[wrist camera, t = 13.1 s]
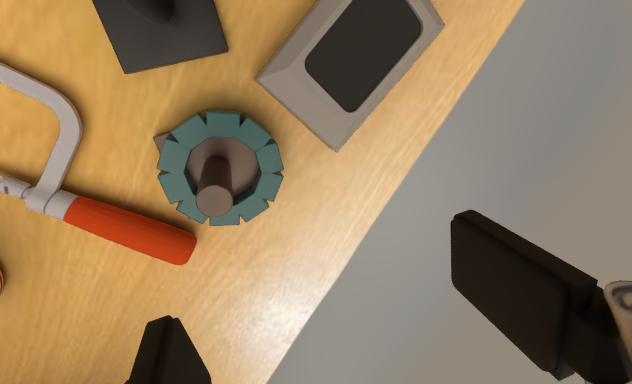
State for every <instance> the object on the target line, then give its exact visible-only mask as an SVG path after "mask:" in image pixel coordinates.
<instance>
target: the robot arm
mask: <svg viewBox="0 0 632 384" xmlns="http://www.w3.org/2000/svg"><path fill="white" fill-rule="evenodd" d="M451 274H452V275H451V278H452V283H453V285H454V287H455V288H456V289H457V290H458V291H459V292H460V293H461V294H462V295H463V296H464V297H465V298H466V299H467V300H468V301H469V302H471V303H472V304H473V305H474V306H475V307H476V308H477V309H478V310H479V311H480V312H481V313H482V314H483V315H484V316H485V317H486V318H487V319H488V320H489V321H490V322H491V323H492V324H494V325H495V326H496V327H497V328H498V329H499V330H500V331H501V332H502V333H503V334H504V335H505V336H506V337H507V338H508V339H509V340H510V341H511V342H513V344H515V345H516V346H517V347H518V348H519V349H520V350H521V351H522V352H523V353H524V354H525V355H526V356H527V357H528V358H529V359H530V360H531V361H532V362H534V363H535V364H536V365H537V366H538V367H539V368H540V369H541V370H543V371H546V372H550V373H551V374H552V375H553V376H554V377H555V378H556V379H557V380H558V381H560V380H562V379H565V378H567V377H569V376H571V375H573V374H574V373H575V372H576V373H578V374H579V375H580V376H581V377H582V378H583V379H584V381H585V384H632V281H621V280H620V281H615V282H611V283H609V284H607V285H606V286H605V288H604V290H603V289H602V288H600V287H598V286H597V281H598V280H596V279H595V278H593V277H591V276H590V275H588V274H586V273H584V272H582V271H581V270H579V269H577V268H575V267H574V266H572V265H570V264H568V263H566V262H565V261H563V260H561V259H559V258H558V257H556V256H554V255H552V254H551V253H549V252H547V251H545V250H544V249H542V248H540V247H538V246H536V245H535V244H533V243H531V242H529V241H528V240H526V239H524V238H522V237H520V236H519V235H517V234H515V233H513V232H511V231H510V230H508V229H506V228H505V227H503V226H501V225H499V224H498V223H496V222H494V221H492V220H490V219H489V218H487V217H485V216H483V215H482V214H480V213H478V212H476V211H474V210H467V211H464V212H462V213H459V214H456V215H455V216H454V218H453V220H452V221H451ZM124 384H212V382H211V377H210V374H209V372H208V370H207V368H206V366H205V365H204V363H203V361H202V359H201V357H200V356H199V354H198V352H197V350H196V348H195V347H194V345H193V343H192V341H191V339H190V338H189V336H188V334H187V332H186V330H185V329H184V327H183V325H182V323H181V321H180V320H179V318H174V319H173V318H172V317H171V316H170V315H167V316H164V317H162V318H159V319H156V320H153V321H150V322H148V323H147V325H146V328H145V331H144V334H143V337H142V340H141V343H140V346H139V350H138V353H137V356H136V359H135V362H134V365H133V368H132V372H131V375H130V378H129V380H127V381H126V382H125V383H124Z"/></svg>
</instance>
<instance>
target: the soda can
mask: <svg viewBox="0 0 632 384" xmlns="http://www.w3.org/2000/svg"><path fill="white" fill-rule="evenodd" d="M3 286H4V280H3V276H2V273H1V271H0V294H1V292H2V290H3Z"/></svg>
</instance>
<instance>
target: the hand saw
mask: <svg viewBox="0 0 632 384" xmlns="http://www.w3.org/2000/svg"><path fill="white" fill-rule="evenodd" d="M0 83H2V84H4V85H6V86H8V87H10V88H12V89H15V90H17V91H19V92H21V93H23V94H25V95H28V96H30V97H32V98H34V99H36V100H38V101H40V102H42V103H44V104H45V105H47V106H48V107H50V108H51V109H52V110H53V111H54V113H55V114H56V115H57V117H58V119H59V122H60V127H61V129H60V134H59V137H58V139H57V142H56V144H55V146H54V149H53V151H52V153H51V156H50V158H49V160H48V163H47V165H46V167H45V170H44V172H43V174H42V177H41V179H40V181H39V182H38V184H37V185H36V187H32V184H29V183H26V182H24V181H21V180H18V179H16V178H13V177H6V178H4V177H1V176H0V192H2V193H5V194H9V195H11V196H14V197H17V198H20V199H24V198H25V197H26V201H25V206H26V208H27V209H30V210H33V211H36V212H39V213H42V214H46V215H49V216H52V217H55V218H58V219H60V220H63V221H65V222H67V223H69V224H71V225H74V226H76V227H78V228H81V229H83V230H86V231H88V232H90V233H93V234H95V235H98V236H100V237H103V238H105V239H108V240H110V241H113V242H115V243H118V244H120V245H123V246H125V247H128V248H130V249H133V250H136V251H138V252H141V253H144V254H147V255H149V256H152V257H155V258H158V259H160V260H163V261H166V262H169V263H172V264H175V265H184V264H186V263H187V262H188V260H189V259H190V257H191V255H192V253H193V251H194V248H195V246H196V243H197V238H196V236H195V235H193V234H191V233H190V232H187V231H184V230H182V229H179V228H176V227H173V226H171V225H168V224H165V223H163V222H160V221H157V220H154V219H151V218H148V217H145V216H142V215H139V214H136V213H133V212H130V211H127V210H124V209H121V208H118V207H115V206H112V205H109V204H105V203H102V202H99V201H96V200H92V199H89V198H86V197H83V196H78V195H75V194H73V193H70V192H67V191H65V190H61V189H60V186H61V184H62V182H63V180H64V177H65V175H66V173H67V170H68V168H69V166H70V164H71V161H72V159H73V157H74V155H75V152H76V150H77V148H78V146H79V143H80V141H81V138H82V133H83V127H82V122H81V118H80V116H79V113H78V111H77V110H76V108H75V107H74V105H73V104H72V103H71V102H70V101H69V100H68V99H67V98H66V97H65V96H64V95H63V94H62V93H60V92H59V91H57V90H56V89H54V88H52V87H50V86H48V85H46V84H44V83H42V82H40V81H38V80H36V79H34V78H32V77H30V76H28V75H25V74H23V73H21V72H19V71H17V70H15V69H13V68H11V67H9V66H7V65H5V64H3V63H1V62H0Z"/></svg>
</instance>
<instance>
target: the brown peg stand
mask: <svg viewBox="0 0 632 384" xmlns="http://www.w3.org/2000/svg"><path fill="white" fill-rule="evenodd" d="M246 114H247V112H245V113H241V114H240V121H241V120H242V118H243V117H244V116H245V115H246ZM247 115H248V114H247ZM170 132H171V131H170ZM170 132H166V133H162V134H158V135H155V136H154V137H153V139H154V141H155V143H156V146H157V148H158V150H159V152H160V154H161V151H162V147H163V144H164V140H165V138H166V137H167V136H168V135H169V134H171V133H170ZM171 135H172V134H171ZM187 169H188V171H189V173H190V176H191V178H192V181H193V183H194V185H195V187H197V188H198V190H197V195H196V200H195V201H196V206H197V208H198V210H199V211H200V212H201V213H202V214H204V215H206V216H208V217H221V216H223V215H225V214H227V213H228V212H229V211H230V209H231V208H232V206H233V197H237V196H238V195H240V194H241V193H242V192H244V191H245V190H247V189H248V188H250V187H251V186H253V183H254V180H255V177H256V175H257V172H258V169H259V165H258V162H257V158H256V155H255V152H254V151H253V150H251V149H250V148H249V147H247V146H246V145H245V144H243V143H242V142H241V141H239V140H238V139H237V138H223V137H210V138H209V139H207V140H206V141H204V142H203V143H201V144H200V145H198V146H197V147H195V148H194V149H192V150H191V153H190V156H189V160H188V163H187ZM188 218H189V219H192V218H190V217H189V216H188Z"/></svg>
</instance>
